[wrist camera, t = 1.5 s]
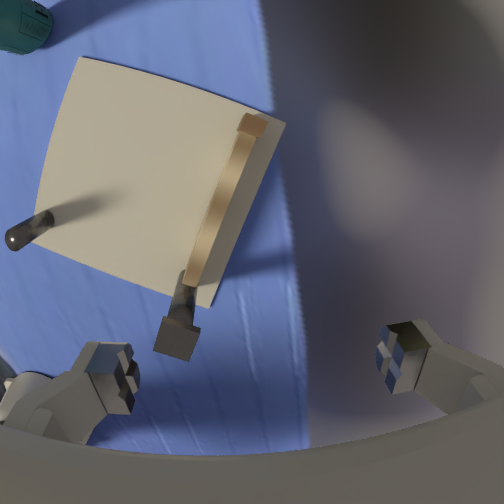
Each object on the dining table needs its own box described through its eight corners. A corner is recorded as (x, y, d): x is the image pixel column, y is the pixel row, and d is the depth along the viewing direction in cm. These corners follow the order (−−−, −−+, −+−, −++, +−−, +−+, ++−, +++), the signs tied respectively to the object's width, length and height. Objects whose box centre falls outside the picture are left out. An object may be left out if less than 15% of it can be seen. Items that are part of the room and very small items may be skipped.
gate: (201, 270, 36) (197, 295, 30) (184, 264, 36) (177, 289, 30) (260, 123, 31) (268, 121, 25) (242, 116, 31) (246, 112, 25)
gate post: (197, 292, 38) (188, 361, 26) (172, 284, 37) (152, 350, 25) (206, 269, 37) (200, 333, 25) (180, 260, 36) (161, 321, 24)
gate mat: (209, 307, 39) (208, 308, 38) (31, 240, 34) (30, 241, 33) (285, 123, 32) (286, 123, 32) (80, 57, 27) (79, 56, 26)
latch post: (54, 231, 34) (20, 254, 26) (39, 224, 33) (4, 246, 26) (57, 212, 33) (23, 233, 25) (42, 206, 32) (6, 225, 25)
